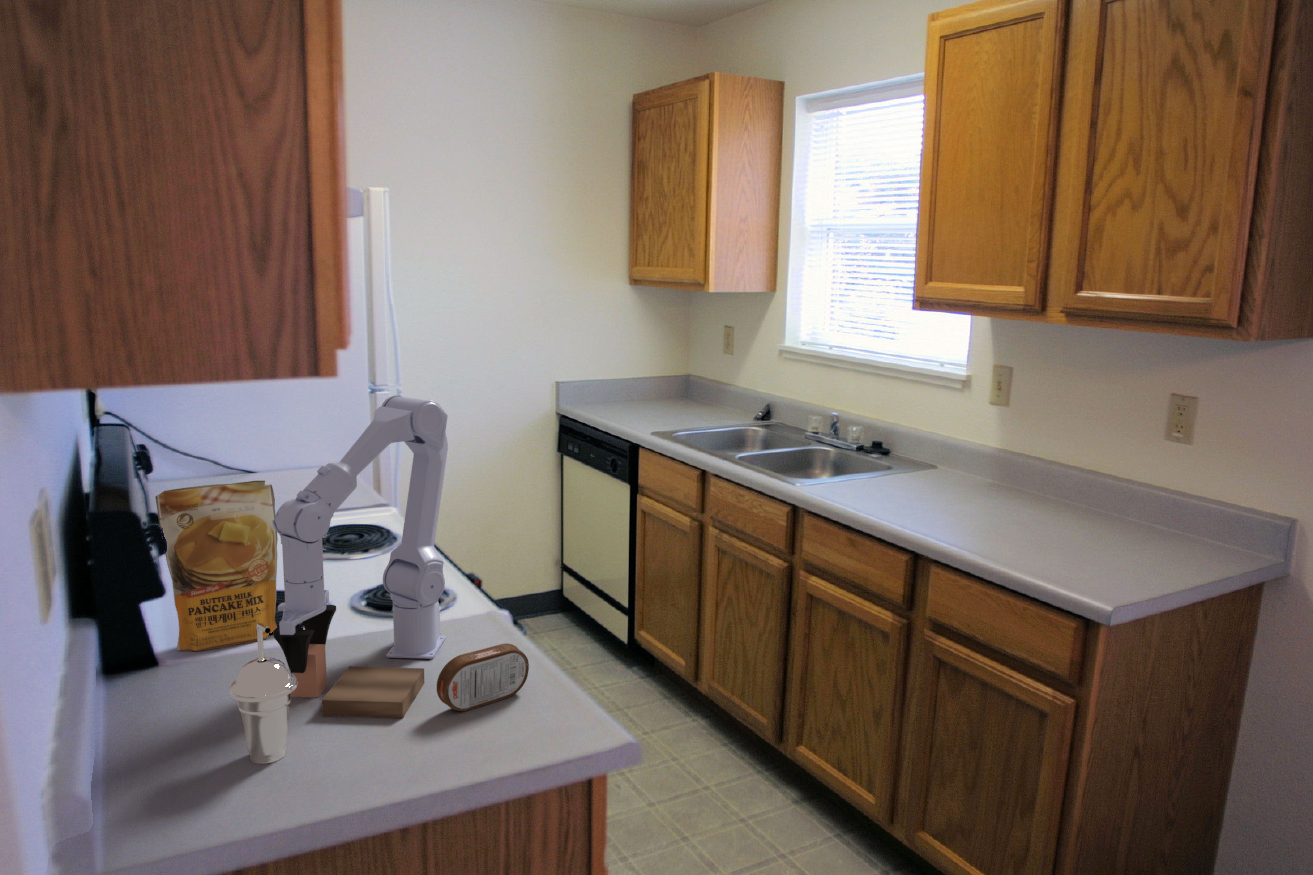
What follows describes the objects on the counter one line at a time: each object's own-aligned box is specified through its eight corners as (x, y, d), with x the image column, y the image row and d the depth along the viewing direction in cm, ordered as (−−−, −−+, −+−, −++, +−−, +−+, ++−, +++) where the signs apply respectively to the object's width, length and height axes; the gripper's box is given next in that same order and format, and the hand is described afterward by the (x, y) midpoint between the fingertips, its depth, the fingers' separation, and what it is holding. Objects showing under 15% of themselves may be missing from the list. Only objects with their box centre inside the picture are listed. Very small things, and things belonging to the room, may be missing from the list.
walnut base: (350, 680, 152) (349, 666, 152) (424, 682, 152) (424, 668, 152) (322, 715, 141) (321, 699, 140) (402, 717, 140) (402, 702, 140)
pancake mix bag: (165, 644, 165) (152, 487, 160) (280, 624, 176) (272, 476, 171) (169, 657, 160) (156, 496, 155) (288, 636, 170) (280, 483, 165)
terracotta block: (301, 685, 151) (299, 643, 149) (327, 686, 150) (325, 644, 149) (291, 696, 147) (289, 653, 145) (317, 697, 147) (315, 654, 145)
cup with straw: (307, 738, 134) (301, 603, 130) (291, 772, 125) (283, 628, 121) (244, 741, 133) (236, 605, 129) (223, 775, 124) (213, 630, 120)
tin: (521, 685, 152) (521, 636, 150) (532, 692, 150) (532, 642, 148) (435, 712, 142) (434, 659, 141) (445, 720, 140) (444, 666, 138)
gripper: (296, 562, 152) (300, 642, 155) (257, 592, 138) (261, 680, 141) (340, 563, 152) (343, 644, 155) (305, 594, 138) (309, 682, 140)
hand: (307, 661), depth 148 cm, fingers open, 7 cm apart
